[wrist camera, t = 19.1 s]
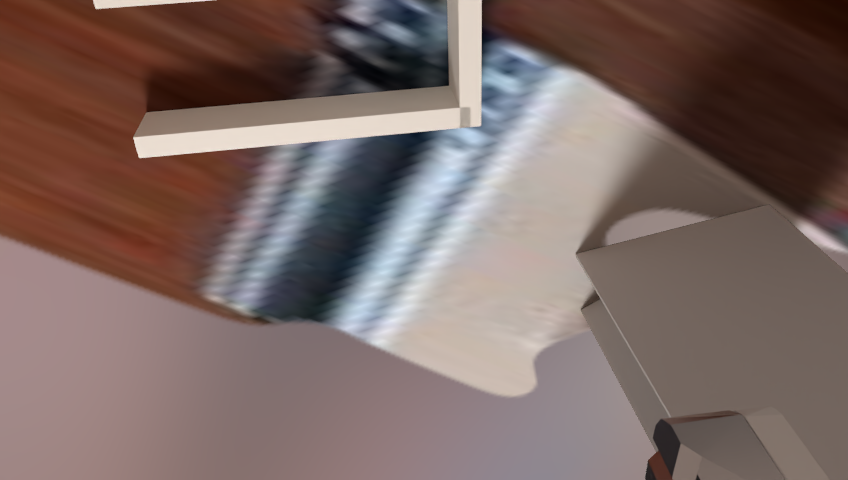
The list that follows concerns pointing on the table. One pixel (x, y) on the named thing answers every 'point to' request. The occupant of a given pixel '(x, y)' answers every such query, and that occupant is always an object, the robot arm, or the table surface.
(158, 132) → the frame
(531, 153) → the table surface
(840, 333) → the pale grey flat box
